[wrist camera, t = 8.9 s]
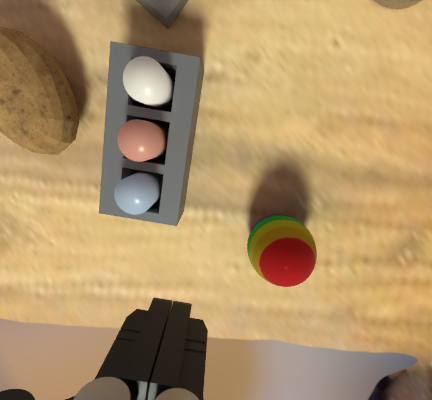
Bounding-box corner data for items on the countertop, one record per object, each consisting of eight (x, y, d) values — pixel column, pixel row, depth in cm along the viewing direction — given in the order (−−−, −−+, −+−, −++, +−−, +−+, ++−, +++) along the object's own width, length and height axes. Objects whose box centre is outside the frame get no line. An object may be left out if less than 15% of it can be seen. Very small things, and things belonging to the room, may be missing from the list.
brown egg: (138, 119, 31) (119, 116, 26) (172, 125, 32) (160, 123, 26) (134, 154, 32) (115, 158, 26) (167, 159, 32) (156, 164, 27)
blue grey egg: (134, 167, 33) (115, 173, 27) (166, 172, 33) (155, 180, 27) (131, 198, 34) (112, 211, 28) (162, 203, 34) (150, 217, 28)
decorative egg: (271, 196, 36) (289, 219, 27) (316, 232, 37) (349, 266, 28) (233, 241, 38) (237, 277, 28) (277, 274, 39) (296, 320, 29)
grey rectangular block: (130, 58, 33) (110, 41, 27) (203, 71, 33) (200, 57, 27) (118, 200, 37) (98, 213, 31) (183, 211, 37) (176, 225, 31)
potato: (53, 168, 36) (7, 177, 28) (-17, 69, 33) (-89, 49, 25) (113, 130, 35) (82, 129, 27) (45, 24, 32) (-11, -11, 24)
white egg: (143, 68, 30) (124, 52, 24) (178, 74, 30) (168, 60, 25) (139, 105, 31) (121, 98, 25) (173, 111, 31) (163, 105, 25)
